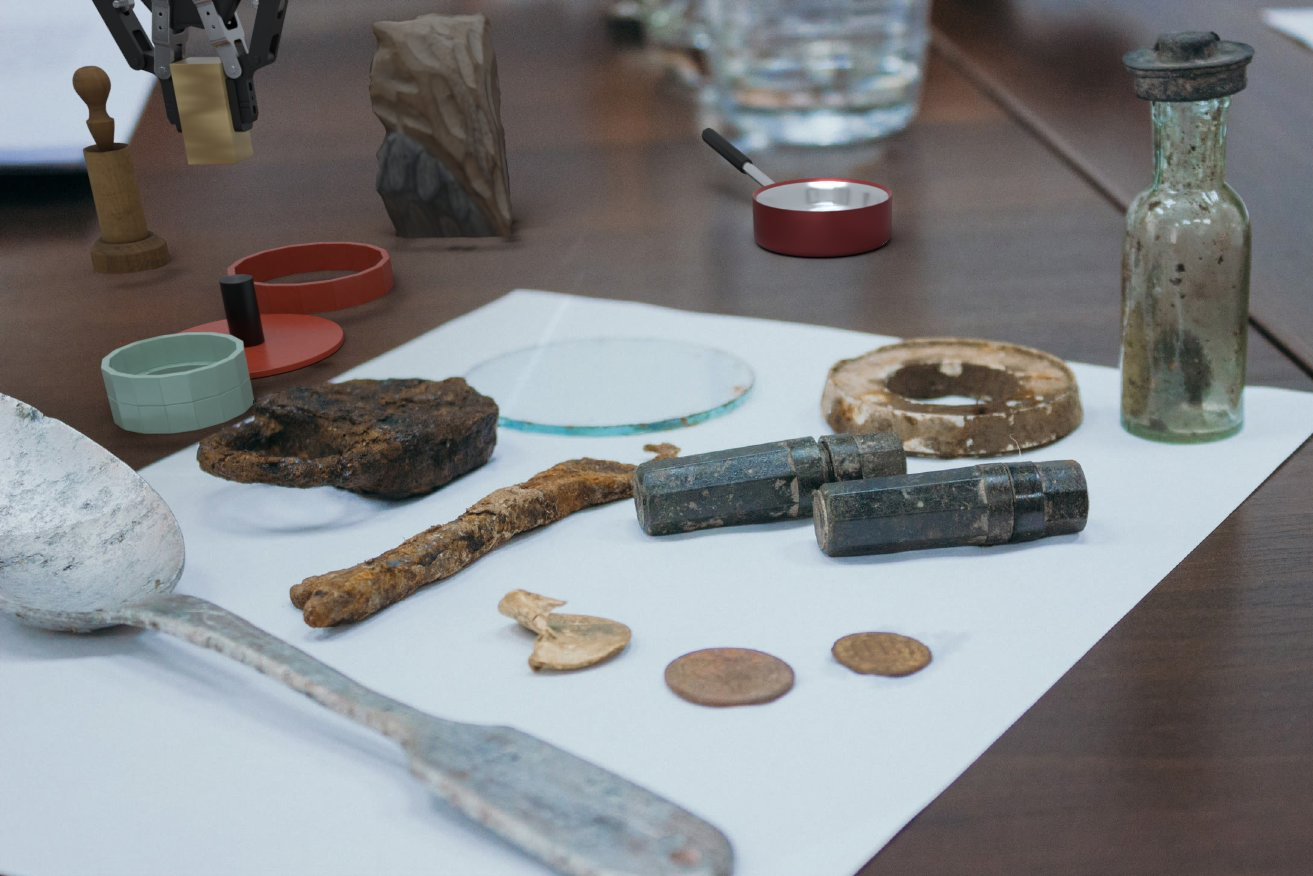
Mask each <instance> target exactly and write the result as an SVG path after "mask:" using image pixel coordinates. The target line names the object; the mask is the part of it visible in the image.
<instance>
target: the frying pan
mask: <svg viewBox="0 0 1313 876" xmlns="http://www.w3.org/2000/svg"><path fill="white" fill-rule="evenodd" d="M701 138H702V141H703V142H704V143H705V144H706V145H708V147H710V148H711V149H712V150H713V151H714V152H715V153H717V154H718V155H719V156H721V157H722V158H723V159H724V160H726V162H728V163H729V164H730V165H731V166H732V167H734V168H735V169H736V170H737V171H738V172H740V173H741V174H743V175H746V176H748V177H750V179H752V180H753V181H754V182H756V183H757V184H758V185H759V186H760V187H759V188H757V189H756V190H755V191H753V193H752V194H751V195H752V199H751V200H752V224H753V225H752V229H753V230H752V231H753V232H752V233H753V238H754V240H755V241H754V242H756V243H757V244H758V245H759V246H760V247H761V248H763V249H765V250H767V251H770V252H773V253H776V254H782V255H785V256H794V257H802V258H803V257H804V258H835V257H846V256H854V255H859V254H864V253H868V252H871V251H874V250H876V249H879V248H881V247H882V246H884V245H886V244H887V243H888V241H889V240H890V239H891V237H892V232H893V191H892V190H891V189H890V188H889V187H887V186H885V185H883V184H880V183H877V182H873V181H867V180H863V179H854V178H843V177H842V178H841V177H815V178H814V177H813V178H811V177H810V178H797V179H790V180H783V181H777V182H775V181H773V180H772V179H771V178H770V177H769V176H768V175H766V174H765V173H764V172H763V171H761V170H760V169H759V168H757V167H756V166H755V165H754V163H753V160H751V159H750V158H749V157H748V156H747V155H745V154H744V153H743V152H741V151H740V150H739V149H738V148H737V147H735V145H733V143H730V141H728V140H727V139H725V138H724V137H723V136H722V135H721V134H720V133H719V132H717V131H716V130H715V129H714V128H711V127H707V128H704V129H703V130H702V133H701ZM889 238H890V239H889ZM886 241H887V242H886ZM885 242H886V243H885ZM883 243H884V244H883ZM882 244H883V245H882Z"/></svg>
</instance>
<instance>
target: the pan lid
mask: <svg viewBox="0 0 1313 876" xmlns="http://www.w3.org/2000/svg"><path fill="white" fill-rule="evenodd" d="M218 282H219V289H220V293H221V298H222V302H223V308H224V313H225V319H220V320H215V321H211V322H206V323H203V324H200V325H199V324H198V325H196V326H193V327H190V328H187V329H184V330H182V331H179V332H176V333H175V334H178V333H186V332H187V333H188V332H214V333H221V334H227V335H232V336H234V337H236V338H238V339H240V340H242V341H243V343H244V348H245V353H246V358H247V363H248V369H249V374H250V379H251V380H252V379H259V378H264V377H269V376H275V375H280V374H284V373H287V372H292V371H295V370H298V369H302V368H305V367H308V366H311V365H313V364H316V363H318V362H321V361H323V360H325V359H326V358H328V357H330V356H331V355H333V354H334V353H336V352H337V351H338V350H339V349H341V347H342V346H343V344H344V341H345V334H344V333H345V332H344V330H343V328H342V327H341V326H340V325H339V324H338V323H336V322H334V321H333V320H330V319H327V318H324V317H321V316H315V315H310V314H303V315H299V314H261V313H260V312H259V307H258V302H257V296H256V291H255V286H254V280H253V277H252V276H251V275H246V274H238V275H230V276H228V275H226V276H223V277H221V278H219V279H218Z"/></svg>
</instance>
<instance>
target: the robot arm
mask: <svg viewBox="0 0 1313 876" xmlns="http://www.w3.org/2000/svg"><path fill="white" fill-rule="evenodd" d="M91 1H92V3H93V5H94V7H95V9H96V10H97V12H98V15H100V17H101V19H102V21H103V23H104V24H105V26H106V28H107V30H108V32H109V33H110V35H111V37H112V38H113V40H114V42H115V43H116V45H117V47H118V49H119V50H120V53H121V54H122V56H123V58H124V59H125V61H126V63H127V64H128V67H130V68H131V70H134V71H137V72H139V71H144V72H146V73H149V74H152V75H154V76H155V77H156V78H157V79H158V80H159V83H160V88H161V92H162V98H163V103H164V108H165V115H166V118H167V120H168V121H169V123H170V125H173V126H174V125H175V128H176V131H177V132H178V133H179V134H183V132H182V127H181V122H180V117H179V111H178V106H177V101H176V95H175V90H174V85H173V80H172V74H171V69H170V64H172V63H175V62H177V61H180V60H183V59H186V45H187V42H188V40H189V35H190V34H189V32H190V30H189V29H190V27H192V28H196V29H200V30H205V33H206V35H207V37H208V40H209V42H210V44H211V46H212V47H214V48H215V50H216V53H217V55H218V57H219V58H220V61H221V63H222V66H223V68H224V71H225V73H226V75H227V76H228V78H229V79H226V80H225V83H226V89H227V95H228V100H229V106H230V112H231V118H232V124H233V128H234V131H235V132H246V131H248V130H249V131H250V130H252V129H253V127H254V122H256V121H258V118H259V106H258V101H257V94H256V88H255V82H254V75H255V73H256V72H257V71H258V70H260V69H262V68H265V67H267V66H270V65H271V64H274V63H275V62H276V61H277V57H278V52H279V47H280V43H281V39H282V34H283V28H284V24H285V18H286V14H287V9H288V6H289V0H250V3H251V6H252V8H254V9H255V10H256V14H255V19H254V23H253V27H252V28H253V29H252V33H251V39H250V44H249V48H248V47H247V43H246V40H245V36H246V35H245V31H244V28H243V25H242V23H241V20H240V17H239V14H238V11H237V10H238V7H239V6H240V3H241V1H242V0H140V2H141V3H142V4H143V5H144V6H145V8H146V9H148V11H149V12H150V14H151V35H150V36H151V37H149V36H148V34H147V33H146V31H145V29H144V27H143V25H142V23H141V22H140V19H139V18H138V17H137V15H136V13H135V11H134V8H135V5H136V2H135V0H91ZM150 38H151V39H150Z"/></svg>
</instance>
